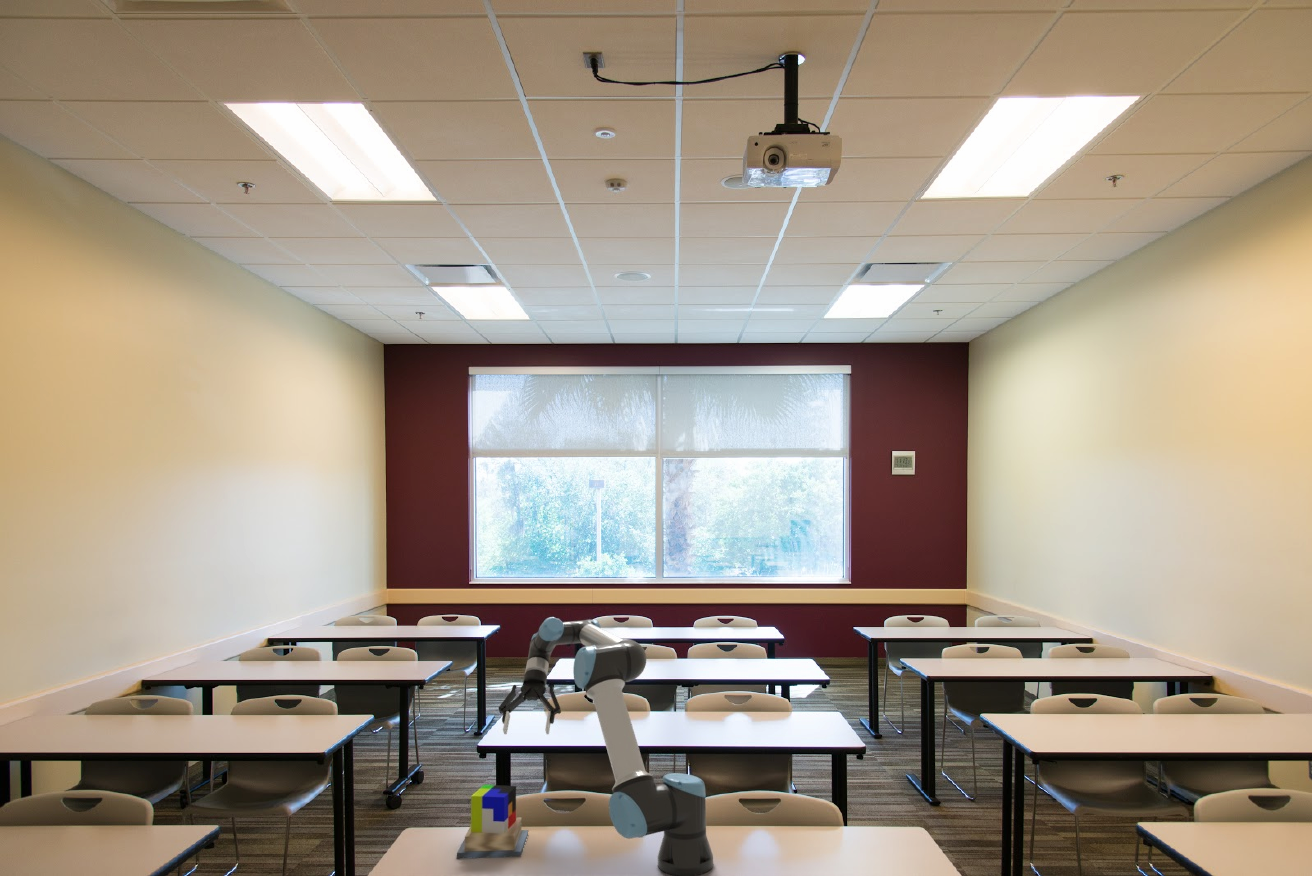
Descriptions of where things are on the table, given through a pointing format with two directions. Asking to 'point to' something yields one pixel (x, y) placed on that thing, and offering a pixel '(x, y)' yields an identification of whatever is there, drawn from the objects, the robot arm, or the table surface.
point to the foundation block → (494, 843)
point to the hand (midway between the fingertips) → (525, 732)
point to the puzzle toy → (493, 809)
